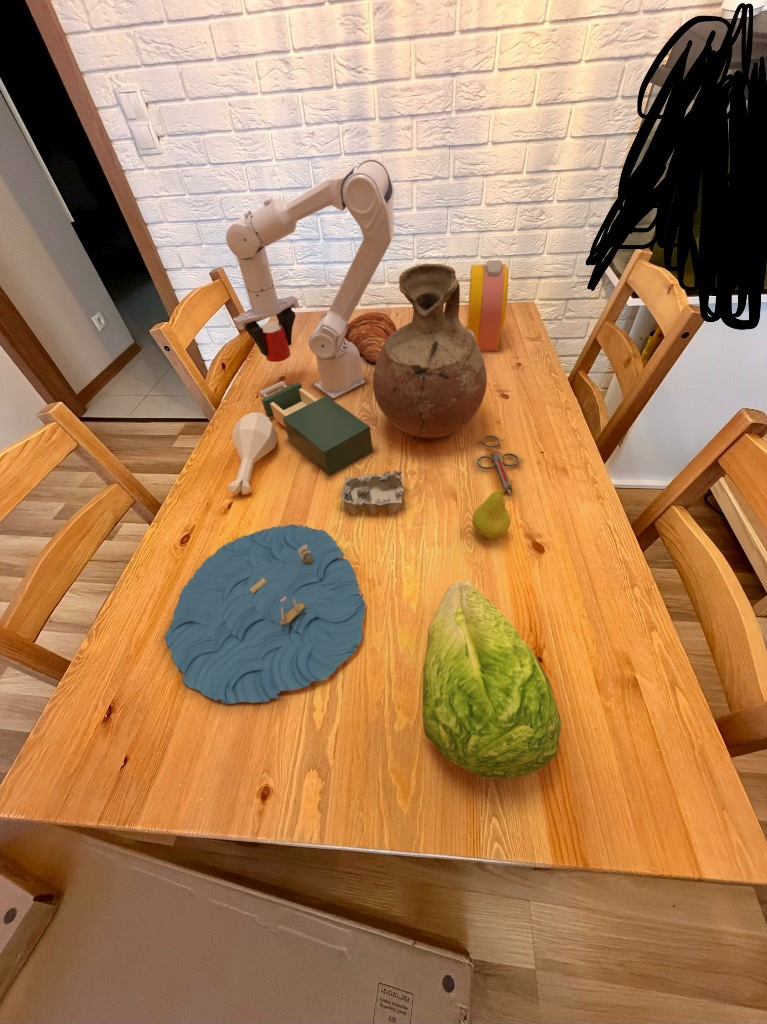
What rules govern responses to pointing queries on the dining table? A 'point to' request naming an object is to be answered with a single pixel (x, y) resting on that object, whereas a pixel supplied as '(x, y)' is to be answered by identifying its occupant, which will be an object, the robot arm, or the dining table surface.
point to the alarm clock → (487, 303)
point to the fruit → (492, 516)
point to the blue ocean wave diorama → (267, 616)
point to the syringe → (499, 463)
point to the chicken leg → (251, 447)
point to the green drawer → (284, 400)
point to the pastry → (370, 333)
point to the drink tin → (275, 341)
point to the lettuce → (486, 691)
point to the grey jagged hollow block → (373, 492)
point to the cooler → (328, 435)
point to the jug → (430, 359)
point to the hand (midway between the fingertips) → (276, 348)
